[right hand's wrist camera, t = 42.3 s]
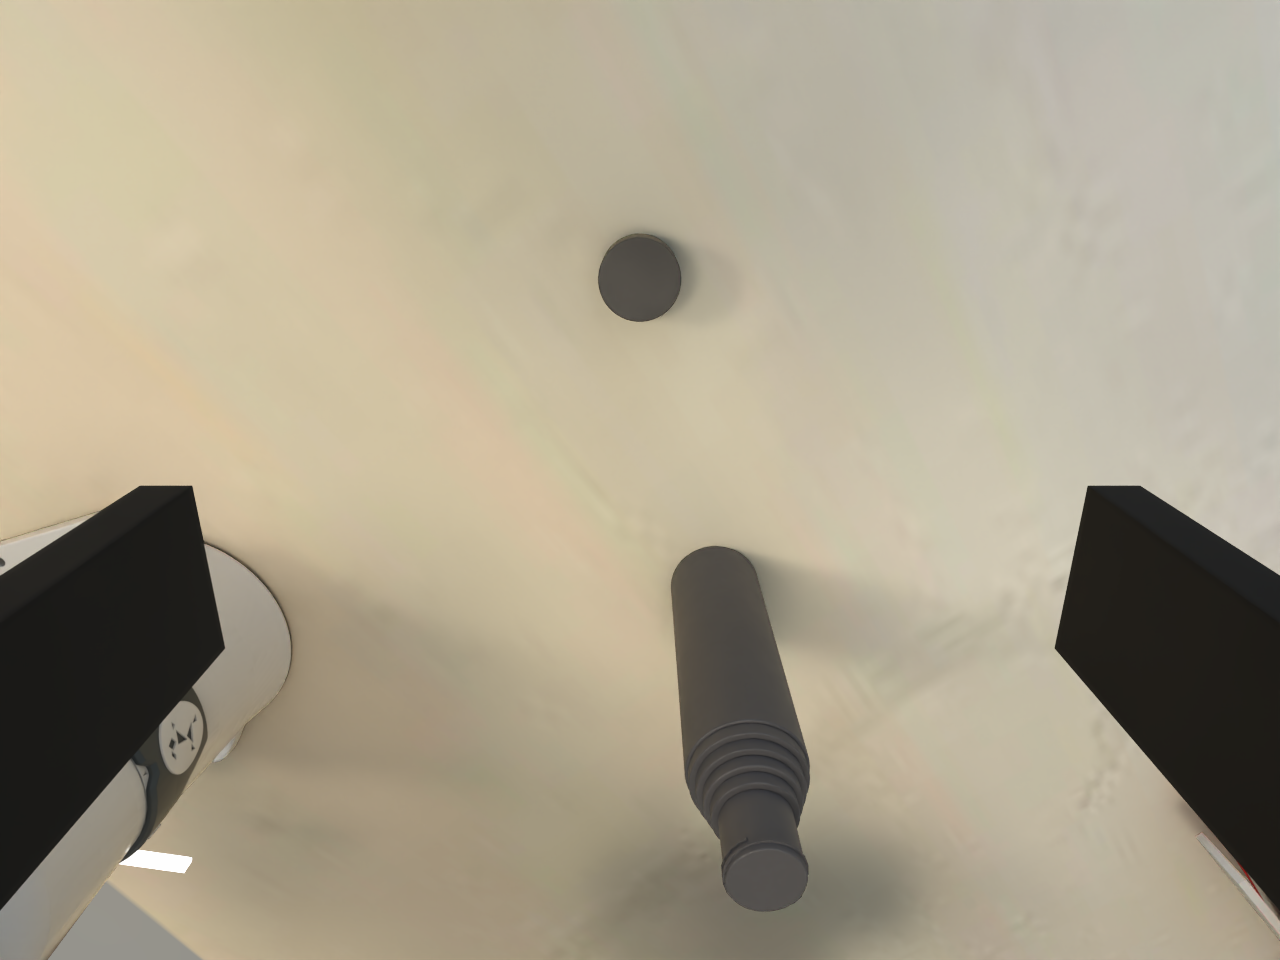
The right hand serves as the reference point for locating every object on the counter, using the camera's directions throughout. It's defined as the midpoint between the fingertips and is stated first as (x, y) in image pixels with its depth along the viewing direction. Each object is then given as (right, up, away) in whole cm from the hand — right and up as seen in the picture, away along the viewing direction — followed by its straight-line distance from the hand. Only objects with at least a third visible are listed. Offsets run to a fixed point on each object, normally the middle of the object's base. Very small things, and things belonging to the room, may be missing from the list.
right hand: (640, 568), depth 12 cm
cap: (0, +12, +32) cm, 34 cm away
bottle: (+5, -5, +40) cm, 41 cm away
